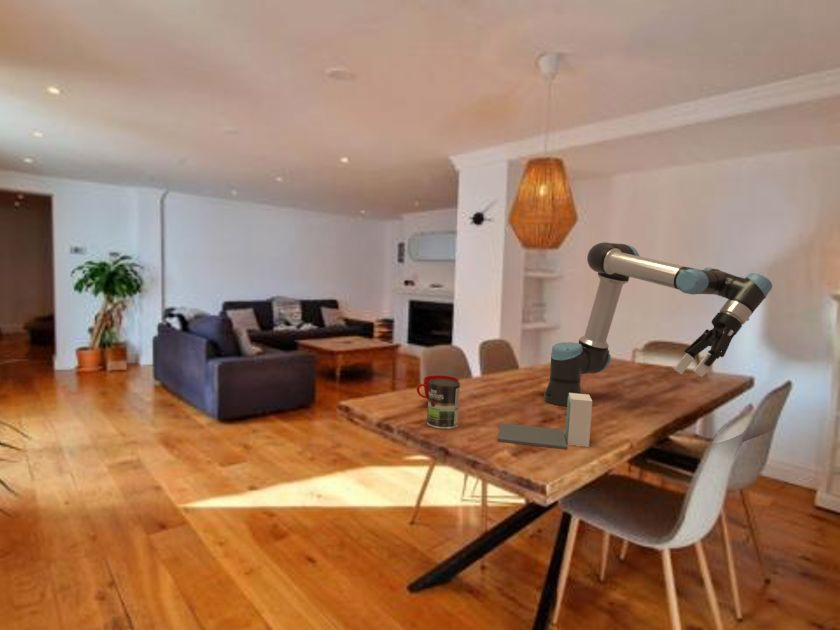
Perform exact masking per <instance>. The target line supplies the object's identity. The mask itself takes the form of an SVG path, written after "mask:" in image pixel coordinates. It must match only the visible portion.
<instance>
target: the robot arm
mask: <svg viewBox="0 0 840 630" xmlns="http://www.w3.org/2000/svg"><path fill="white" fill-rule="evenodd" d="M587 264H588V266H589V268H590V269H591V270H592V271H594V272H596V273H597V276H598V278H599V284H598V287H597V289H596V295H595V297H594V298H595V299H594V300H593V301H594V302H593V304H592V307H591V311H590V315H589V319H588V321H587V326H586V329H585V333H584V335H582V336H581V337H579V339H578V342H573V341H570V342H559V343H556V344H554V345H553V346H552V348H551V354H550V371H549V382H548V385H547V387H546V389H545V391H544V393H543V400H544V402H547V403H550V404H552V405H557V406H562V407H563V406H565V407H567V401H568V396H569V393H577V394H583V392H582V391H583V390H582V389H581V375H586V374H587V375H589V374H596V373H600V372H603V371H605V370H606V369H607V368H608V367H609V366H610V365H609V364H610V363H611V359H612V357H611V354H610V349H609V347H610V345H609V343H608V342H607V339H608V337H609V333H610V329H611V326H612V323H613V320H614V316H615V312H616V310H617V309H616V308H617V306H618V303H619V300H620V296H621V293H622V289H623V287H624V285H625V284H627V283H629V280H630V278H633V279H638V280H640V281H641V280H642V281H644V282H649V283H652V284H657V285H660V286H664V287H667V288H672V289H675V290H678V291H680V292H681V293H684V294H688V295H715V296H718V297H721V298H725V299H727V301H726V302H725V303H724V304H723V305H722V307H721V308H720V309H719V312H717V314H715V316H714V317H713V318H712V320H711V325H712V326H713V328H711V329H710V330H709V329H706V330H704V332H703V333H701V335H700V336H699V337H697V338H696V340H694V341H693V342H692V343H691V344H690V345H689V346H688V347H686V349H685V350H684V353H685V354H684V356H683V357H682V358H681V359H680V360H679V362H678V363H677V364H676V366H674V367H673V370H674V371H675V372H677V373H678V374H680V375H682V374H683V373H684V372H685V371H686V369H687V368H688V367H689V366H690V365H691V364H692V362H693V361H694V360H695V359H696V356H698V355H699V354H700V353H701V352H703V351H704V350H705V349H707V348H708V347H710V350H707V353H706V355H705V356H704V357H703V358H702V360H701V361H700V362H699V363H698V364H697V366H695V368H694V369H693V372H694V373H695V374H696V375H698V376H699V377H701V378H702V377H703V376H705V375H706V373H707V372H708V371H709V370H710V368H711V366H712V365H713V364H714V363H715V362H716V360H719V358H724V357H725V355H726V352H727V350H728V348H729V347H730V344H731V341H732V340H733V338H734V337H735V336H736V335H737V334H738V333H739V331H740V330H741V328H742V327H743V325H745V323H746V322H747V321H750V318H751V316H752V314H753V313H754V312H755V311H756V309H757V308H758V307H759V306H760V305H761V304H762V302H763V301H764V300H765V299H767V296H768V295H769V293H770V292H771V290H772V288H773V284H772V281H770V279H769V278H767V277H766V276H764V275H762V274H760V273H754V272H753V273H752V272H751V273H749V274H747V276H745V277H742V276H741V277H740V276H737V275H734V274H732V273H729V272H725V271H722V270H721V269H718V268H717V269H716V268H713V267H705V268H704V269H698V268H693V267H688V266H683V265H680V264H674V263H670V262H666V261H662V260H656V259H652V258H648V257H644V256H640V253H639V252H638V250H637V249H636V248H635V247H634V246H631V245H628V244H626V243H617V242H616V243H614V242H606V241H605V242H599V243H596V244H595V245H593V246H592V247H591V248H590V249H589V251H588V253H587Z"/></svg>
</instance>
